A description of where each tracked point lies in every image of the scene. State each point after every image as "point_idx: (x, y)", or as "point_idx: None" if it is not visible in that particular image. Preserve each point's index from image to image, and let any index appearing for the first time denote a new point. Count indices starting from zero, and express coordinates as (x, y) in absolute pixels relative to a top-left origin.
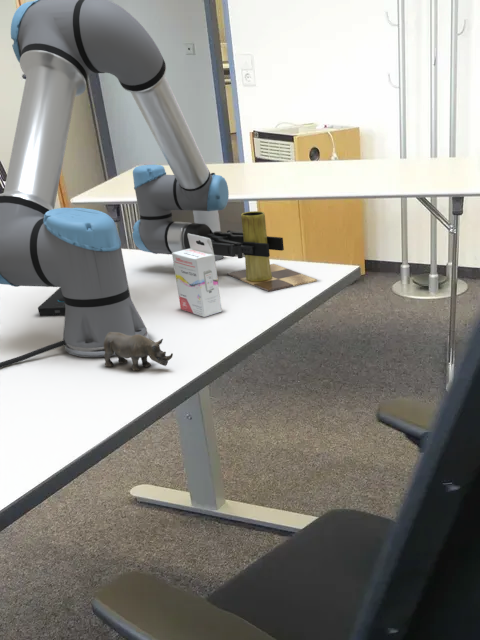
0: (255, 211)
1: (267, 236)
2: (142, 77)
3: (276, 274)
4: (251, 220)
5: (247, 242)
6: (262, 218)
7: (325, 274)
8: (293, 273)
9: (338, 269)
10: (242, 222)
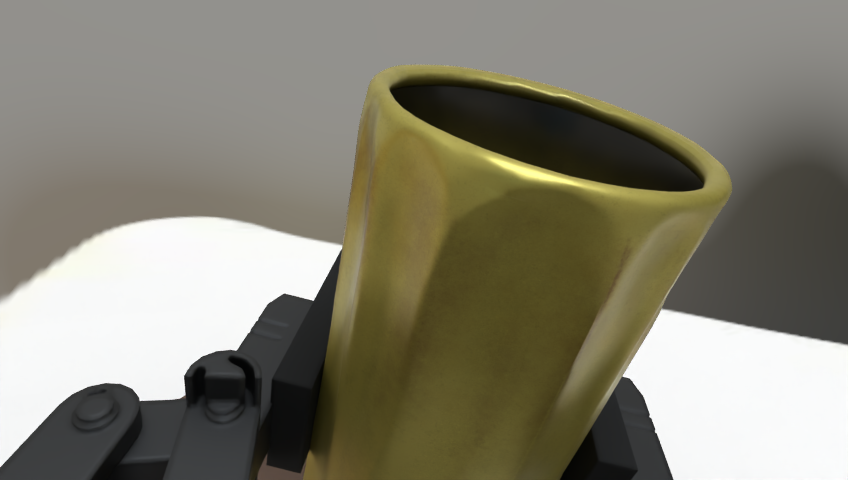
0: (386, 89)
1: (318, 299)
2: None
3: (266, 476)
4: (647, 186)
5: (611, 410)
6: (523, 126)
7: (248, 277)
8: None
9: (165, 246)
10: (661, 301)
